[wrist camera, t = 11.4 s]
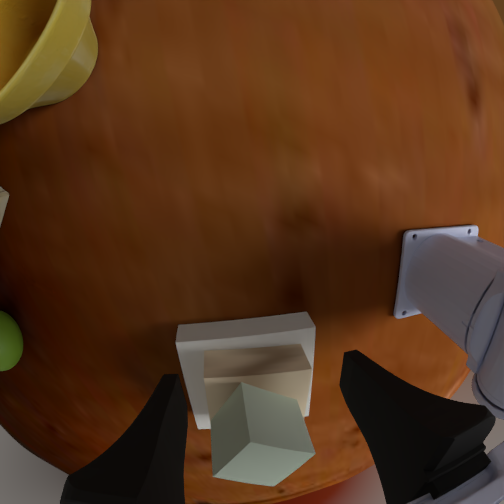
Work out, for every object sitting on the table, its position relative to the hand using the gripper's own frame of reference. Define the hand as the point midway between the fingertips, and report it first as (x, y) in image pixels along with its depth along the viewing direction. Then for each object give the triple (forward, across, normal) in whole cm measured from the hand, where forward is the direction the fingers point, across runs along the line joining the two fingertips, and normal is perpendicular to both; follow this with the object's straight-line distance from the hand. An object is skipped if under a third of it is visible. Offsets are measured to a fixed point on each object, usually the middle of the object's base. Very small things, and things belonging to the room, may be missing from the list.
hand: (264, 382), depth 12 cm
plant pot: (+11, +12, -18) cm, 24 cm away
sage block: (+5, 0, +8) cm, 9 cm away
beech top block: (+8, 0, +8) cm, 11 cm away
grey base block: (+11, 0, +8) cm, 14 cm away
